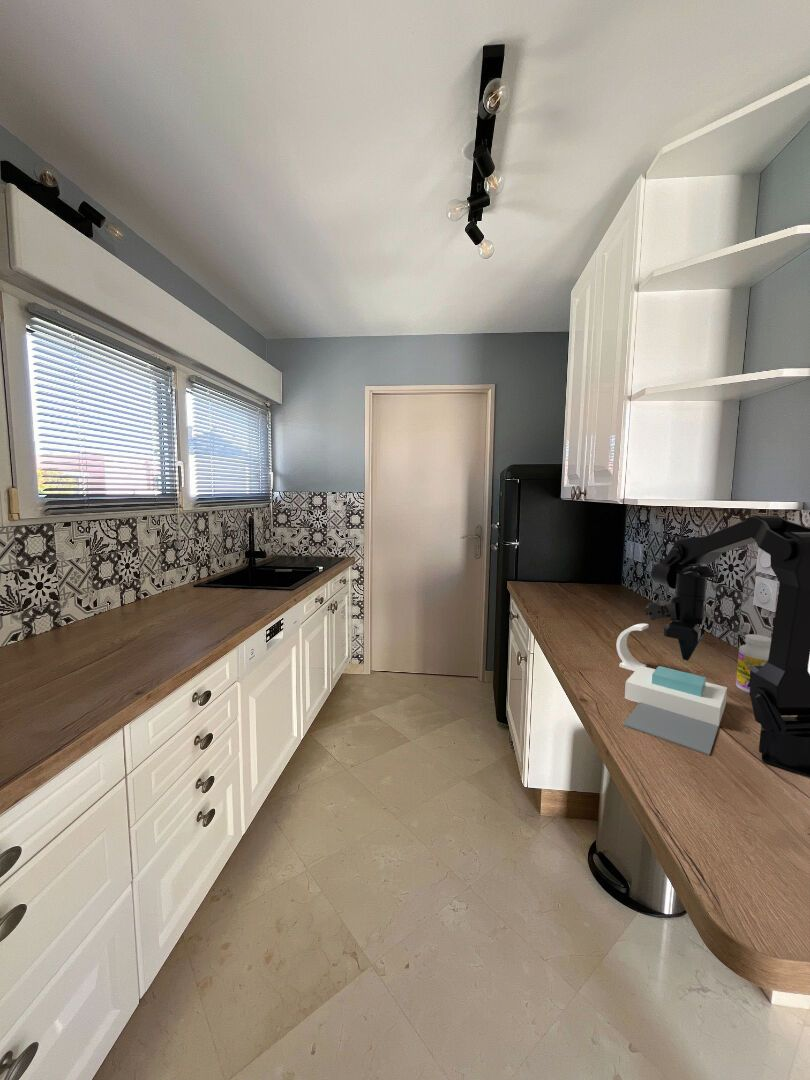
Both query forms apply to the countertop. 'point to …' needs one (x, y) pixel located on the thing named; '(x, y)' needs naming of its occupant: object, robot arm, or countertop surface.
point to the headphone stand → (622, 648)
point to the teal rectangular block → (679, 680)
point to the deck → (677, 697)
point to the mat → (673, 727)
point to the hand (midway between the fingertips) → (685, 659)
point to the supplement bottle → (751, 658)
